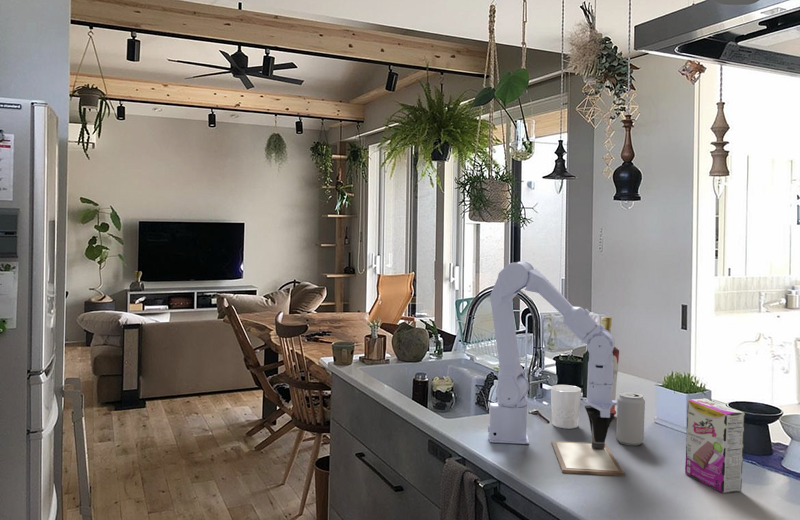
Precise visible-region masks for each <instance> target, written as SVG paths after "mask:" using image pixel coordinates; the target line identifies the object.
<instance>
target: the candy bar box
mask: <svg viewBox="0 0 800 520" xmlns="http://www.w3.org/2000/svg"><path fill="white" fill-rule="evenodd" d="M686 412H687V414H686V415H687V418H686V439H685V440H686V443H685V448H686V449H685V464H684V465H685V466H684V467H685V468H684V470H685V471H684V472H685V473H684V474H686V475H688V476H690V477H692V478H693V479H696V481H697V480H698V481H699V482H701V483H703V484H705V485H707V486H709V487H710V488H712V489H714V490H716V491H717V492H720V493H722V494H731V493H735V492H738V493H739V492H742V486H743V485H742V484H743V483H742V481H743V479H742V478H743V461H744V460H743V459H744V456H743V455H744V439H745V437H744V436H745V435H744V433H745V418H746V417H745V415H746V414H745V412H744V411H740V410H738V409H736V408H733V407H730V406H728V405H724V404H722V403H719V402H716V401H714V400H712V399H708V398H691V399H688V400H687V410H686Z"/></svg>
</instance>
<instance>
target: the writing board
mask: <svg viewBox="0 0 800 520" xmlns="http://www.w3.org/2000/svg"><path fill="white" fill-rule="evenodd" d="M550 444H551V446H552V449H553V452H554V454H555V457H556V460H557V463H558V465H559V467H560V470H561V473H565V474H580V475H581V474H582V475H600V476H616V477H617V476H618V477H625V474H626V473H625V472H624V470H623V468H622V467H621V465H620V464H619V462H618V460H617V459H616V457H615V455H614V453H612V450H610V448H609V446H608V445H607V443H605V448H604V449H594V448H592V447H591V444H592V442H577V441H576V442H575V441H556V440H555V441H554V440H552V441H551V443H550Z"/></svg>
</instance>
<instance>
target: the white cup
mask: <svg viewBox="0 0 800 520" xmlns="http://www.w3.org/2000/svg"><path fill="white" fill-rule="evenodd" d="M581 396H582V388H581V387H579V386H576V385H569V384H554V385H552V386H550V402H551V403H550V405H551V406H550V407H551V408H550V411H551V424H552V426H554V427H556V428H560V429H569V430H570V429H571V430H572V429H575V428H578V427H579V418H580V410H581V409H580V408H581V400H582V399H581V398H582V397H581Z"/></svg>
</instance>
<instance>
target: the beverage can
mask: <svg viewBox="0 0 800 520" xmlns="http://www.w3.org/2000/svg"><path fill="white" fill-rule="evenodd" d="M618 395H619V396H618V397H617V400H616V401H617V405H616V433H615V434H616V440H617V441H618V442H619V443H620V444H622V445H626V446H632V447H633V446H640V445H641V444H642V443H644V442H645V439H644V438H645V409H646V408H645V407H646V400H645V398H644V395H643V394H641V393H639V392H634V391H633V392H632V391H623V392H619V393H618Z"/></svg>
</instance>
